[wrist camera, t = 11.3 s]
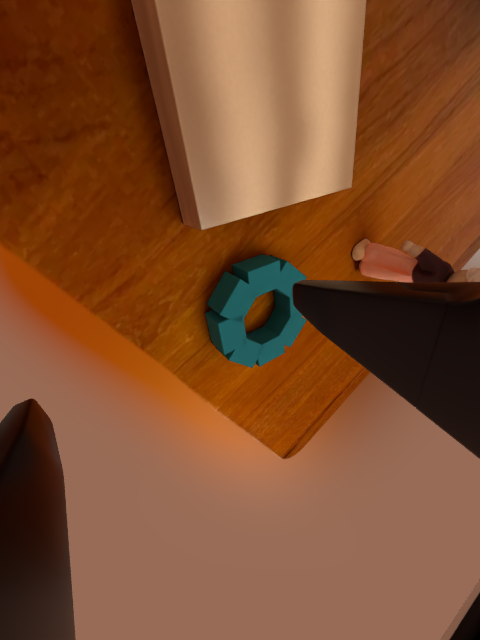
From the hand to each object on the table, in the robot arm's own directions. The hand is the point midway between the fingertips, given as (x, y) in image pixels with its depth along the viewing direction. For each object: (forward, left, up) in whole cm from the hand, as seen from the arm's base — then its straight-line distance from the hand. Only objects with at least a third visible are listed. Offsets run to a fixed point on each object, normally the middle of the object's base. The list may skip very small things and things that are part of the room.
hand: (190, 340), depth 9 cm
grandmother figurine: (+26, -8, -12) cm, 30 cm away
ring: (+10, -8, -12) cm, 17 cm away
